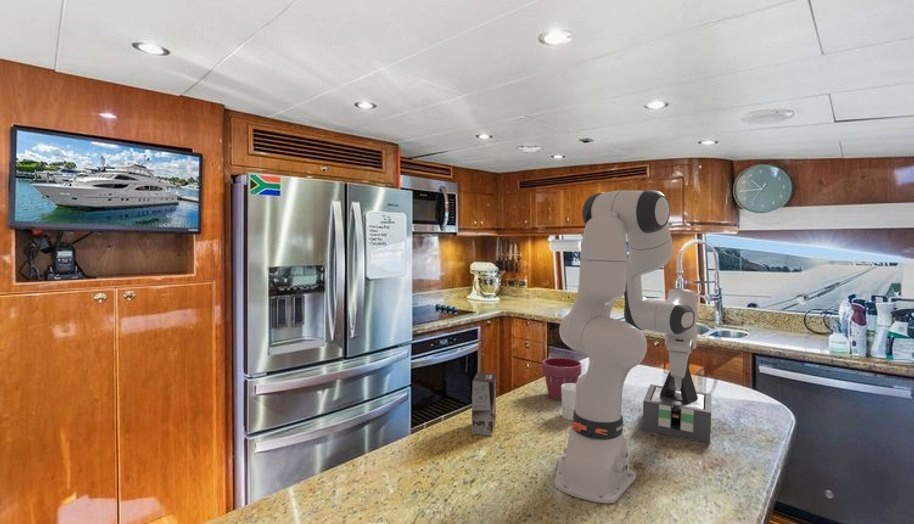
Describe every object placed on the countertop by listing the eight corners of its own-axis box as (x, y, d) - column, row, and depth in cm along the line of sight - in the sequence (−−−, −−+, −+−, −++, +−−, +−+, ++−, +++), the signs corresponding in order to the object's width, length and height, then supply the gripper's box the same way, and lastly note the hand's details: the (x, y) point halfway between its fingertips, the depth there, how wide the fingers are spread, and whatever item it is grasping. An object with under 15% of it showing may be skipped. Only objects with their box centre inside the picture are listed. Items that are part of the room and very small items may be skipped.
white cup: (586, 422, 142) (587, 391, 142) (560, 420, 144) (561, 389, 143) (584, 413, 150) (585, 383, 150) (560, 411, 152) (560, 382, 151)
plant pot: (543, 388, 175) (544, 355, 174) (580, 391, 171) (581, 358, 171) (539, 400, 161) (540, 365, 161) (580, 405, 158) (581, 369, 157)
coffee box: (492, 436, 132) (493, 382, 131) (471, 434, 134) (471, 380, 133) (496, 423, 141) (497, 373, 140) (475, 421, 143) (476, 371, 142)
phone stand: (698, 399, 139) (699, 361, 138) (688, 404, 135) (689, 364, 134) (669, 391, 146) (671, 355, 145) (659, 395, 142) (660, 357, 142)
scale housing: (710, 444, 128) (711, 413, 128) (642, 430, 137) (643, 401, 137) (710, 421, 144) (711, 393, 144) (649, 410, 153) (650, 384, 153)
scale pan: (703, 416, 129) (703, 412, 128) (649, 407, 135) (650, 403, 135) (703, 398, 143) (704, 394, 143) (656, 390, 150) (656, 387, 150)
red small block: (678, 418, 132) (678, 416, 132) (672, 417, 132) (672, 415, 132) (679, 415, 134) (679, 413, 134) (673, 414, 134) (673, 412, 134)
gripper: (671, 333, 150) (670, 374, 151) (666, 345, 132) (664, 392, 133) (693, 335, 147) (691, 377, 148) (690, 348, 129) (688, 395, 130)
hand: (678, 384), depth 140 cm, fingers closed on phone stand, 6 cm apart
